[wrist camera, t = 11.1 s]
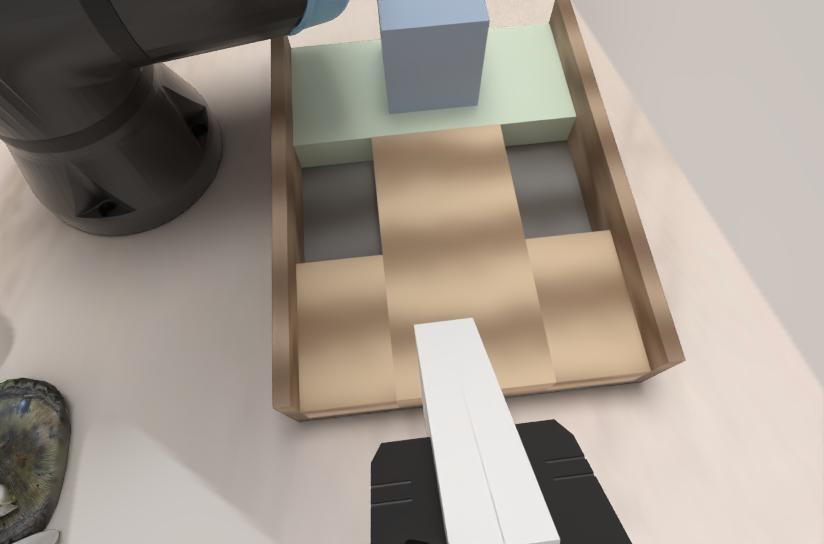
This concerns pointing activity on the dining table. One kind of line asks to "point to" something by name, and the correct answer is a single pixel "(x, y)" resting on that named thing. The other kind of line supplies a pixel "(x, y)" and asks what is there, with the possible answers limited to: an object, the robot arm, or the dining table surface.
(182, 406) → the dining table surface
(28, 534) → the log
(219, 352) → the dining table surface
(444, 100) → the slate block
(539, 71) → the pad
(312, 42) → the dining table surface
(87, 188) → the robot arm
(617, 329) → the box
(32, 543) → the spoon rest
